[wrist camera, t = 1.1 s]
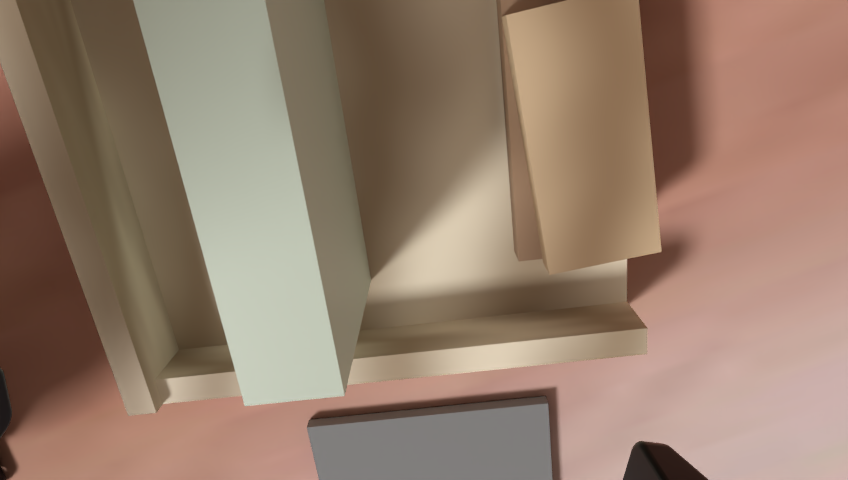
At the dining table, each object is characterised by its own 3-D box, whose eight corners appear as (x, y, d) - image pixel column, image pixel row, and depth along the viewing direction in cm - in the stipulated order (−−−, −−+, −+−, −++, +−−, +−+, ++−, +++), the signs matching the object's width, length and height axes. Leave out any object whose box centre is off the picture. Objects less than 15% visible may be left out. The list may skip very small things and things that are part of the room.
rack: (171, 360, 22) (128, 415, 19) (30, -85, 17) (-64, -115, 14) (618, 313, 22) (652, 361, 18) (616, -169, 16) (664, -223, 13)
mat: (338, 543, 26) (336, 553, 25) (309, 419, 23) (306, 427, 23) (552, 524, 25) (555, 533, 25) (545, 395, 23) (548, 403, 22)
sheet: (303, 287, 20) (245, 406, 14) (240, -9, 17) (121, -42, 10) (371, 280, 20) (344, 395, 14) (320, -20, 17) (252, -60, 10)
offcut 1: (514, 251, 20) (518, 261, 19) (494, -25, 17) (498, -29, 16) (627, 238, 20) (637, 248, 19) (627, -43, 17) (639, -48, 16)
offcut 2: (543, 263, 19) (549, 274, 18) (501, 16, 16) (506, 15, 15) (649, 241, 19) (661, 251, 18) (624, -14, 16) (637, -17, 15)
